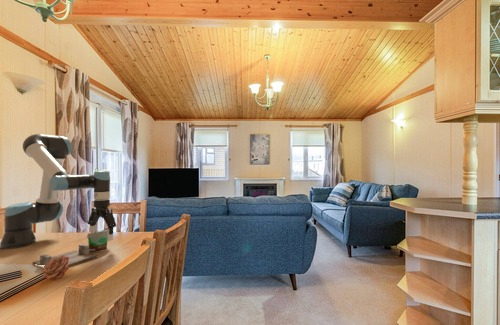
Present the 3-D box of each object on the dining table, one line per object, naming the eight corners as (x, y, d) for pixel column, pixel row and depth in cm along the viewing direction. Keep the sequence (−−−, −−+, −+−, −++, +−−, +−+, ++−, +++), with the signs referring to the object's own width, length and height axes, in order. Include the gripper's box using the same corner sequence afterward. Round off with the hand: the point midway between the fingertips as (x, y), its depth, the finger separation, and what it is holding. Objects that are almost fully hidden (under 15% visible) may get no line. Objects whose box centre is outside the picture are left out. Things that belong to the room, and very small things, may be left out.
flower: (57, 267, 107) (46, 255, 102) (79, 262, 108) (69, 250, 103) (46, 288, 99) (34, 277, 94) (70, 283, 100) (59, 271, 95)
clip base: (32, 264, 114) (32, 253, 114) (74, 252, 130) (74, 242, 130) (55, 271, 106) (55, 259, 106) (96, 257, 122) (96, 247, 122)
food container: (96, 253, 128) (97, 234, 128) (86, 253, 129) (87, 233, 129) (114, 246, 140) (114, 228, 140) (105, 245, 141) (105, 228, 142)
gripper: (80, 199, 137) (80, 238, 137) (110, 201, 126) (110, 243, 126) (94, 197, 144) (93, 234, 143) (123, 199, 133) (123, 239, 133)
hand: (101, 238), depth 135 cm, fingers open, 13 cm apart
